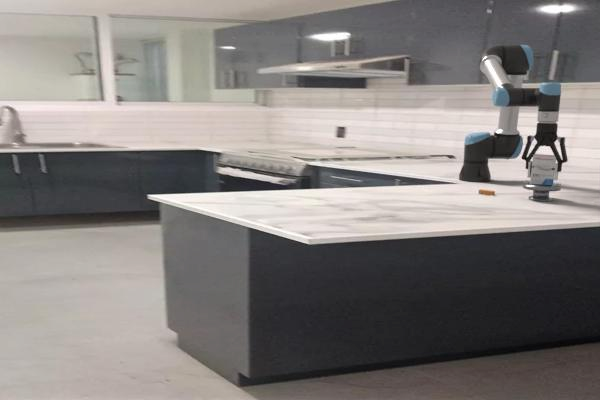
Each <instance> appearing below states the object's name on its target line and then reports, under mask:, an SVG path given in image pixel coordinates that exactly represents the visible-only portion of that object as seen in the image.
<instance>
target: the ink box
mask: <svg viewBox="0 0 600 400" xmlns="http://www.w3.org/2000/svg"><path fill="white" fill-rule="evenodd" d="M531 161H532V169H531V177H530V178H529V179H530V180H529V182H530V184H541V185H553V183H554V181H555V180H554V175H555V164H556V163H557V160H556V157H555V156H554V154H543V153H542V154H541V153H535V154H534V155H533V157H532V160H531Z"/></svg>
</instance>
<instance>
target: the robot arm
mask: <svg viewBox="0 0 600 400" xmlns="http://www.w3.org/2000/svg"><path fill="white" fill-rule="evenodd" d="M478 59H479V60H478V67H479V69H480V71H481V72H482V74H484V75H485V76H486V78H487V81H488V82H489V84H490V86H491V88H492V89H493V92H492V95H491V96H492V103H493V106H495V107H500V109H499V117H498V125H497V128H496V129H495V130H494V132H493V134H491V133H490V132H488V131H483V132H482V131H481V132H480V131H479V132H473V133H472V132H471V133H469V134H467V135H465V138H464V143H463V147H464V148H463V149H464V150H463V164H462V167H461V169H460V172H459V175H458V180H459V181H460V180H461V181H465V182H473V183H477V182H479V183H484V182H490V181H491V179H492V178H491V177H492V175H491V172H490V167H489V160H490V159H492V160H493V159H495V160H512V159H517V158H518V157H519V156H520V155H521V153H522V156H521V160H523V161H525V170H527V176H526V178H528V179H530V178H531V169H532V161H533V155H534V154H537V151H538V150H539V148H540V147H549V148H550V150H551V152H552V153H553V154H552V155H554V156H555V157H556V164H555V173H554V181H558V179H559V173H561V172H562V167H563V164H565V163H567V162H568V155H567V150H566V144H565V143H566V137H565V136H563V137H562V136H558V125H559V124H558V122H559V115H560V114H559V113H560V106H561V105H560V104H561V103H560V102H561V96H562V95H561V94H562V83H560V82H542V83H540V85H539V87H523V82H524V80H523V79H524V78H525V77H526V76H528V72H530V71H531V70H532V69H533V66H534V52H533V49H532V47H531V46H529V45H525V44H495V45H491V46H490V47H488V48H486V49H485V50H484V51H483V52H482V53H481V54H480V56H479V58H478ZM520 107H521V108H522V107H523V108H525V107H526V108H527V107H528V108H529V107H530V108H531V107H536V108H537V107H538V109H537V123H536V130H535V131H536V132H535V134H534V135H531V134H530V135H528V136H527V137H526V138H527V139H526V141H527V142H526V144H525V147H524V150H523V146H524V137H523V136H522V135H521V134H520V133H521V132H520V131H519V130H518V121H519V113H520ZM534 140H535V141H536V144H535V145H534V147H533V149H530V148H531V146H532V143H533V141H534ZM557 141H558V143H559V147H560V153H561V155H560V153H559V150H558V149H557V146H556V144H555V142H557ZM522 150H523V152H522ZM530 150H531V151H530ZM529 151H530V152H529Z"/></svg>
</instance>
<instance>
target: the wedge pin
mask: <svg viewBox="0 0 600 400" xmlns="http://www.w3.org/2000/svg"><path fill="white" fill-rule="evenodd" d="M483 194H485V195H484V196H490V195H493V196H495V195H496V191H495V190H489V189H483V188H482V189H478V195H483Z"/></svg>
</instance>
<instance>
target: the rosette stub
mask: <svg viewBox="0 0 600 400" xmlns="http://www.w3.org/2000/svg"><path fill="white" fill-rule="evenodd" d="M522 188H523V189H525V190H529V191H532V195H529V196H528V200H531V201H535V202H553V201H554V198H553V197H550V192H559V191H561V189H562V183H559V182H558V183H554V182H553V185H541V184H530V180H529V179H528V180H523V182H522Z"/></svg>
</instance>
